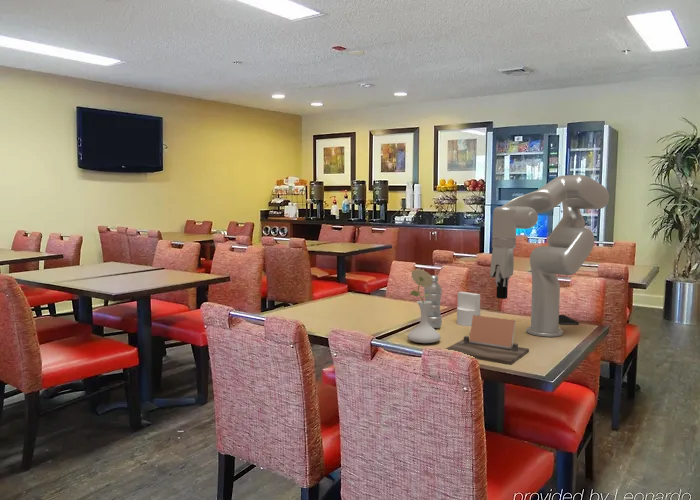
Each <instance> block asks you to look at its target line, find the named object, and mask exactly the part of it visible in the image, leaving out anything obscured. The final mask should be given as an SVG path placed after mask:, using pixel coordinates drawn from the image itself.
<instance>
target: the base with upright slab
mask: <svg viewBox="0 0 700 500" xmlns="http://www.w3.org/2000/svg"><path fill="white" fill-rule="evenodd" d="M473 315H476V316H481V294H480V293H474V292H467V291H458V292H457V307H456V324H457V325H459V326H463V327H471V325H472V319H473Z"/></svg>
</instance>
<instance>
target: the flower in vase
mask: <svg viewBox="0 0 700 500" xmlns="http://www.w3.org/2000/svg"><path fill="white" fill-rule="evenodd" d="M430 276H431V274H430V273H429V272H428V271H425V269H424V268H422V269H421V268H415V269H413V270H412V271H411V275H410V278H412V281H414V283H415V284H416V285H417V286H418V288H417V290H412V291H411V292H410V295H412V296H414V297H417V298H418V297H420V300H418V301H417V300H416V303H417V305H418V306H419V310H420V322H419V324H418V325H416V326H415V327H414V328H412V329H411V330H410V331H409V332H408V334H407V338H408V340H409V341H411V342H415V343H420V344H433V343H436V342H439V341H440V339H441V338H442V337H441V334H440V333H439V331H437V330H436V328H432V327H431V326H430V325H429V323H428V319H427V316H428V308H429V306H430V304H431V303H432V302H431V301H425V300H424V299H425V297H426V296H428V295H429V294H430V293H429V294H426V295H425V294H424V296H421V294H420V286H421V288H425V287H429V286H431V285H432V284H431V283H432V278H431V277H430ZM423 298H424V299H423Z"/></svg>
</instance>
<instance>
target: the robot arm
mask: <svg viewBox="0 0 700 500" xmlns="http://www.w3.org/2000/svg"><path fill="white" fill-rule="evenodd" d="M609 201H610V193H609V191H608V189H607V187H605V186H604V185H602V184H601V183H599V182H598V181H596V180H594V179H593V178H591V177H589V176H586V175H582V174H573V175H572V174H571V175H568V174H567V175H564V174H563V175H560V176H557V177H555V178H553V179H552V180H550V181H548V182H547V183H546V184H544V185H543V186H542V187H540V188H538V189H537V190H534V191H532V192H528V193H526V194H523V195H520V196H518V197H517V196H516V197H515V198H513V199H510V200H509V201H507V202H506V203H504V204H503V205H501V206H496V207H495V208H494V209H493V214H492V215H493V217H492V238H491V239H492V240H491V248H492V253H491V259H490V269H489V272H490V273H489V276H490V278H494V279H495V280H494V281H495V284H496V296H495V298H497V299H503V300H506V299H508V287H509V286H508V285H509V280H510V277H512V276H513V275H514V266H515V265H514V264H515V263H514V250H516V242H517V241H516V240H517V239H516V238H517V229H520V230H526V229H528V230H529V229H531V228H533V227H535V225H536V224H537V223H538V220H539V215H538V214H542V213H547V212H550V211H552V210H553V209H554V208H556V207H557V206H558V205H560V204H562V218H561V219H560V220H559V222H558V223H557V224H556V226H555V227H554V229H553V230H552V231H551V233H550V234H549V236H548V238H547V245H541V246H538V247H535V248H534V249H533V250H532V251H531V253H530V255H529V264H530V270H531V286H532V287H531V307H530V308H531V314H530V326H529V327H526V329H525V330H526V333H528V334H530V335H534V336H537V337H538V336H539V337H545V338H546V337H549V338H551V337H553V338H554V337H560V336H563V334H564V331H563V329H562V328H559V326H560V325H559V315H560V298H561V297H560V294H561V283H560V281H559V278H558V277H557V275H559V276H560V275H561V276H572V275H574V274H576V273H577V272H578V271H579V270H580V268H581V267H582V266H583V264H584V263H585V262H586V260H587V258H588V257H589V255H590V254H591V252H592V251H593V249H594V246H595V236H594V233H593V232H592V230H591V229H589V228H587V227H585V226H586V221H585V219H584V216H583V215H582V213H581V210H600V209H604V208H605V207H607V206H608V203H609Z"/></svg>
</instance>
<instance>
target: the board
mask: <svg viewBox="0 0 700 500" xmlns="http://www.w3.org/2000/svg"><path fill="white" fill-rule="evenodd" d="M469 339H470V335H469V336H468V335H464V336H463V339H462V340H460V341H458V342H456V343H454V344H452V345H450V346H448V347H446V348H445V349H448V350H454V351H458V352H462V353H464V354H467V355H470V356H473V357H475V358H477V359H476V360H483V361H487V362H494V363H498V364H499V363H500V364H505V365H510V366H511V365H513V364H514V363H515V362H517V361H519V360H520V359H521V358H522V357H524V356H525V355H526V354H528V353H529V352H530V348H527V347H521V346H520V347H519V343H516V342H513V345H512V350H510V349H504V348H498V347H491V346H485V345H478V344H472V343H469ZM475 358H474V359H475ZM519 358H520V359H519Z"/></svg>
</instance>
